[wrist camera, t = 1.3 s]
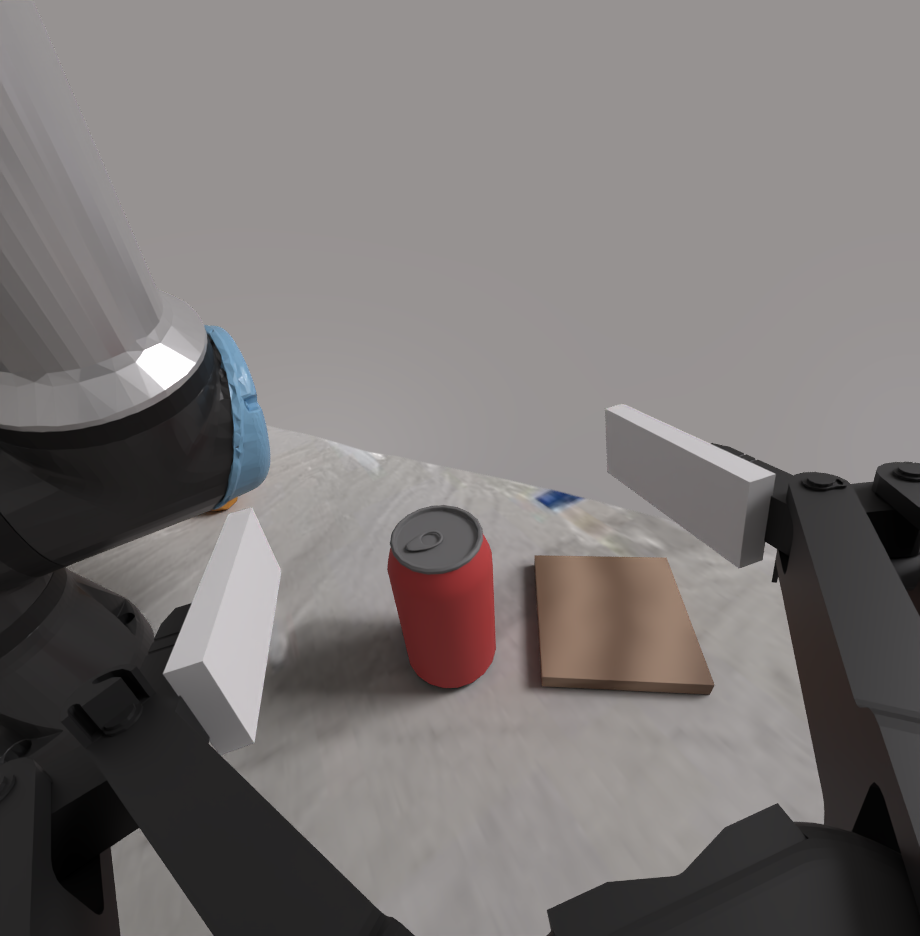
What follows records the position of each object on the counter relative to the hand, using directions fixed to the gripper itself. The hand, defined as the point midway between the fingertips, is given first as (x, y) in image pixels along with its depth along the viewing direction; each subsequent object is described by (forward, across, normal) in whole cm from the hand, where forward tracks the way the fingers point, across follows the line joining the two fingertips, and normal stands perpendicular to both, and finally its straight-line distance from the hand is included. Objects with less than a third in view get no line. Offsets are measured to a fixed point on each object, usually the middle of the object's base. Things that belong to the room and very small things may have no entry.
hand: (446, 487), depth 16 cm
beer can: (+10, -1, -19) cm, 22 cm away
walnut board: (+9, +11, -20) cm, 25 cm away
